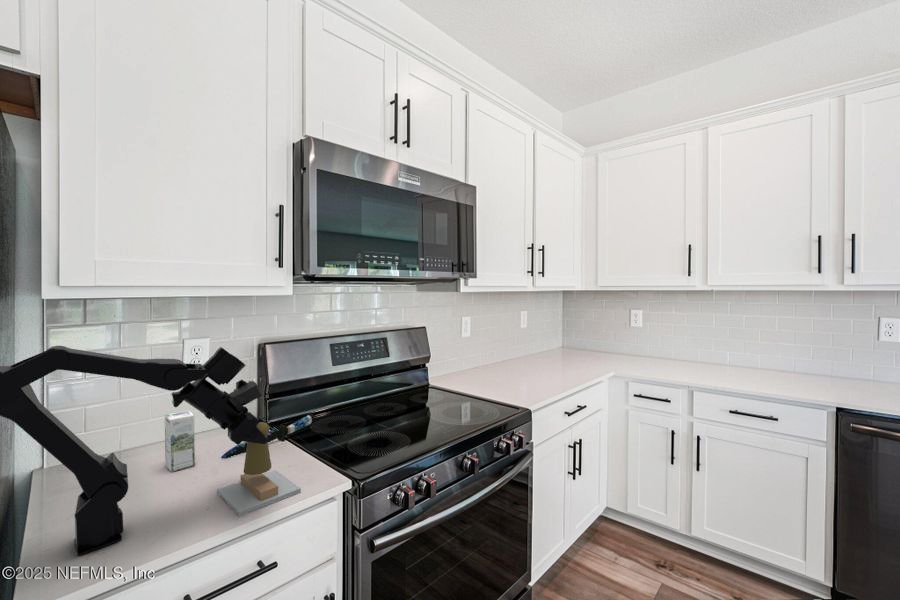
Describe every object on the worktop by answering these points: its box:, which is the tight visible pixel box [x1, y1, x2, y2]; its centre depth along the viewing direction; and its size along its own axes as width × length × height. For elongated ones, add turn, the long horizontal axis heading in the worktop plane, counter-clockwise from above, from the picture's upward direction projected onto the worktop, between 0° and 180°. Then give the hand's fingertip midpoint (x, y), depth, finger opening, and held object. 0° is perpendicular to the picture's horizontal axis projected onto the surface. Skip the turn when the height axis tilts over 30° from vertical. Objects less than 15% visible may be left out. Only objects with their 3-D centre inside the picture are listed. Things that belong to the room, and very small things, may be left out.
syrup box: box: [164, 410, 196, 473], centre depth 111 cm, size 6×6×14 cm
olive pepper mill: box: [243, 421, 272, 475], centre depth 97 cm, size 6×6×11 cm
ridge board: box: [216, 469, 302, 517], centre depth 98 cm, size 14×14×3 cm
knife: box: [220, 413, 315, 460], centre depth 128 cm, size 31×3×4 cm, turn 140°
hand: (263, 438), depth 98 cm, fingers closed on olive pepper mill, 5 cm apart
